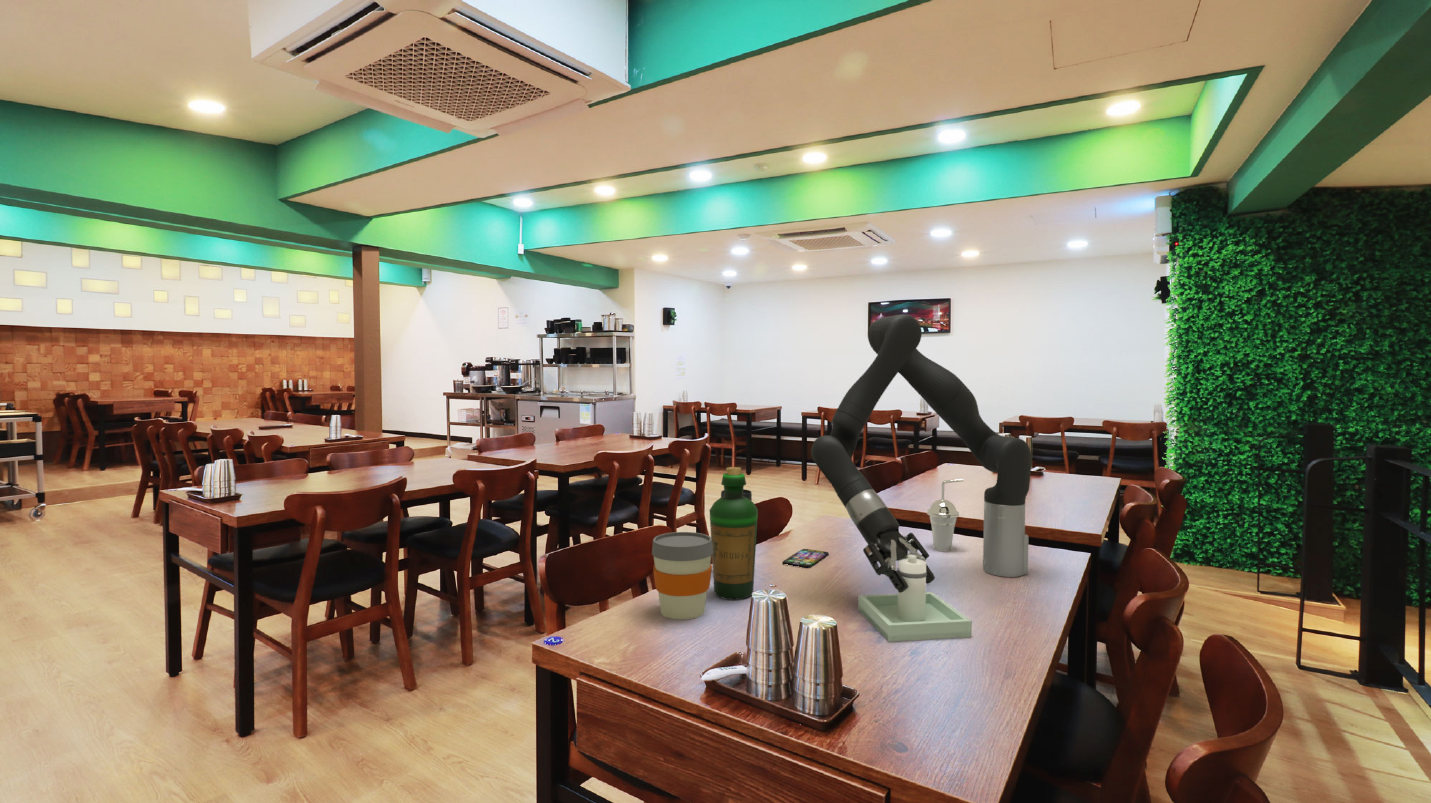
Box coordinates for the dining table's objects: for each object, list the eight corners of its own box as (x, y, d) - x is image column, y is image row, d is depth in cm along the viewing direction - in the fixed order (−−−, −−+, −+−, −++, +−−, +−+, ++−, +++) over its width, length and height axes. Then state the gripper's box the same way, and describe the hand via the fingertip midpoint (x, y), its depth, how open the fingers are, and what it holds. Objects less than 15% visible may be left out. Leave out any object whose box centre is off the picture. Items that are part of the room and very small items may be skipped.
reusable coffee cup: (706, 625, 126) (705, 548, 126) (644, 620, 129) (643, 545, 128) (718, 602, 139) (718, 533, 138) (661, 598, 141) (661, 530, 141)
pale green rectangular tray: (932, 606, 137) (932, 592, 136) (971, 636, 121) (971, 621, 121) (858, 609, 135) (858, 595, 134) (888, 641, 119) (888, 625, 119)
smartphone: (780, 562, 166) (803, 548, 179) (780, 565, 167) (803, 551, 180) (809, 566, 163) (830, 552, 176) (809, 570, 163) (830, 555, 176)
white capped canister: (918, 611, 131) (919, 551, 130) (931, 622, 125) (932, 559, 125) (892, 612, 130) (893, 552, 129) (903, 623, 125) (904, 560, 124)
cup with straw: (937, 543, 186) (938, 474, 185) (966, 550, 179) (967, 478, 178) (920, 548, 181) (921, 477, 180) (949, 555, 174) (951, 481, 173)
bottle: (700, 597, 142) (700, 469, 141) (723, 583, 152) (723, 463, 150) (745, 605, 137) (745, 473, 136) (765, 590, 147) (765, 466, 145)
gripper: (858, 510, 128) (907, 583, 120) (903, 501, 137) (951, 568, 128) (838, 532, 133) (883, 603, 124) (883, 522, 141) (928, 588, 133)
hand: (918, 585), depth 126 cm, fingers open, 8 cm apart
